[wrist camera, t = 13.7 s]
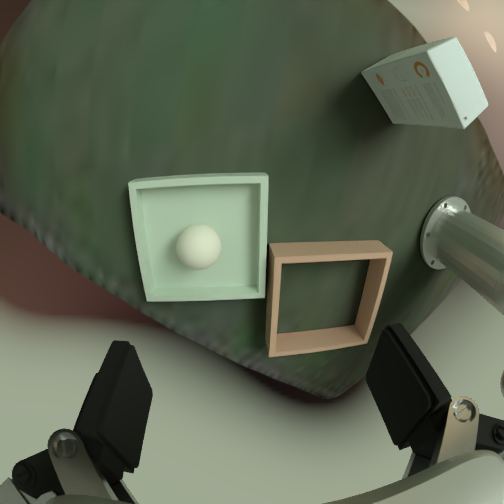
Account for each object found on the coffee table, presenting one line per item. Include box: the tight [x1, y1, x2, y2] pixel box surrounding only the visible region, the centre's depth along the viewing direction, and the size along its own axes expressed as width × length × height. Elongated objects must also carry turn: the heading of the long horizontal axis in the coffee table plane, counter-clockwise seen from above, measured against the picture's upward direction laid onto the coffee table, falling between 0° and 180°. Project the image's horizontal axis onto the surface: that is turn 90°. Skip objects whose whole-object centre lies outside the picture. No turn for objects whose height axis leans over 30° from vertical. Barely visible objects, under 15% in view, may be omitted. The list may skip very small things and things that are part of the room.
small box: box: [361, 37, 488, 129], centre depth 21 cm, size 8×6×13 cm
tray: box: [128, 173, 268, 301], centre depth 31 cm, size 15×15×2 cm
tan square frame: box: [265, 240, 393, 357], centre depth 36 cm, size 16×16×4 cm
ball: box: [176, 224, 222, 270], centre depth 30 cm, size 5×5×5 cm
